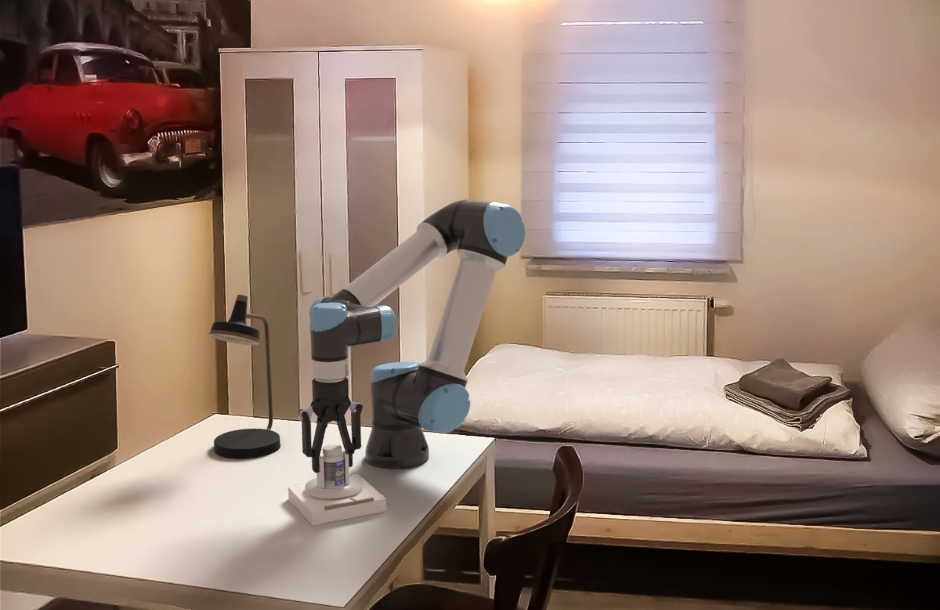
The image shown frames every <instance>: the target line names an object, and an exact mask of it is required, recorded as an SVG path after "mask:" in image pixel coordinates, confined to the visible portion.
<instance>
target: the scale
mask: <svg viewBox="0 0 940 610" xmlns="http://www.w3.org/2000/svg"><path fill="white" fill-rule="evenodd" d="M287 492H288V493H287V494H288V495H287V497H288V501H289V502H291V503H292V505H293V506H294V507H295V508H296V509H297V510H298V511H299V512H300V513H301V515H302V516H303V517H304V518H305V519H306V520H307V521H308V522H309V523H310V524H311V526H317V525H322V524H329V523H334V522H338V521H343V520H344V521H345V520H347V519H353V518H354V519H355V518H358V517H364V516H369V515H373V514H378V513H383V512H387V498H386V497H385V496H384V495H383V494H382V493H380V492H379V490H377V489H376V488H374V486H372V485H371V484H370V483H369V482H367V480H365V479H364V478H363V477H362V476H361V475H359V473H358V474H351V475H349V484H345V483H344V485H343V486H342V487H339V488H333V489H332V488H322V489H321V488H320V487H319V486H318V485H317V477H315V478H312V479H310V480H308V481H307V482H306V483H302V484H301V483H300V484H297V485H296V484H295V485H291V486H290V485H289V486H287ZM328 522H329V523H328Z"/></svg>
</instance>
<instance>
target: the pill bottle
mask: <svg viewBox="0 0 940 610" xmlns="http://www.w3.org/2000/svg"><path fill="white" fill-rule="evenodd" d="M342 448H343V447H342V446H341V445H339V444H328V445H324V446H322V454H323V455H321V457H322V458H324V487H325V488H332V489H333V488H339V487H342V486H343V485H344V457H343V455H342V451H343V449H342Z"/></svg>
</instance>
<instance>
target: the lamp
mask: <svg viewBox="0 0 940 610" xmlns="http://www.w3.org/2000/svg"><path fill="white" fill-rule="evenodd" d="M248 298H249V297H248V296H247V295H244V294H237V296H236V298H235V302H234V305H233V309H232V311H231V314H230V317H229V320H227V321H221V320H220V321H219V320H218V321H214V322H213V323H212V324H211V328H210V330H209V333H208V336H209V337H210V338H213V339H216V340H219V341H223V342H226V343H227V342H228V343H233V344H239V345H244V346H245V345H247V346H259V345H261V341H260V330H259V329H257V328H255V327H253V326H250V325H248V324H247V320H248V319H249V320H252V319H253V320H259V321H262V323H263V327H264V342H265V343H264V345H265V346H264V347H265V364H266V367H265V368H266V385H267V388H266V389H267V406H268V408H267V409H268V422H267V423H268V424H267V427H266V429H265V428H242V429H241V428H239V429H235V430H230V431H227V432H223V433H220V434H219V435H217V436H216V437H215V438H214V439H213V452H214V454H215V455H217V456H220V457H222V458H225V459H233V460H234V459H235V460H246V459H256V458H261V456H262V457H265V455H266V456H269V455H271V454H274V453H275V452H277V451H279V449H280V448H281V445H282V444H281V436H280V434H279V433H278V432H276V431H274V430H271V429H272V428H273V423H274V414H273V413H274V411H273V409H274V408H273V391H272V390H273V388H272V368H271V366H272V365H271V350H270V329H269V324H268V323H269V322H268V321H267V319H266V317H264V316H262V315H259V314H254V313H248V311H247V310H248Z"/></svg>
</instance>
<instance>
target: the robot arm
mask: <svg viewBox="0 0 940 610" xmlns="http://www.w3.org/2000/svg"><path fill="white" fill-rule="evenodd" d="M525 238H526V227H525V222H524V221H523V217H522V215H521V214H520V212H519V211H518V210H517V209H516V207H514V206H512V205H511V204H510V205H509V204H505V203H502V202H498V201H494V202H493V201H492V202H490V201H484V200H483V201H479V200H474V199H461V200H457V201H453V202H451V203H449V204H447V205H445V206H443V207H442V208H440V209H438V210H437V211H435V212H434V213H432V214H430V216H428V217H426V218H425V219H424V220H423V221H421V222H420V223H419V224H418V225H417V226H416V232H414V233H413V234H412V235H410V236H409V237H408V238H407V239H405V240H404V241H402V242H401V243H400V244H398V246H396V247H394V248H393V249H392V250H391V251H390V252H388V253H387V254H386V255H385V256H383V257H381V259H380V260H378V261H377V262H376V263H375V264H373V265H372V266H371V267H369V268H368V269H366V270H365V271H364V272H363V273H361V274H360V275H359V276H358V277H355V279H353V281H351V282H350V283H349V284H347V285H346V286H344V287H343V288H342V289H340V290H339V291H338V292H337V293H335V294H334V295H333V296H322V297H317V298H316V299H315V300H314V301H312V304H311V305H310V308H309V330H310V331H309V332H310V354H311V358H310V359H311V377H312V378H313V379H312V380H311V388H312V389H311V390H312V391H311V393H312V394H311V396H312V400H311V403H310V406H309V407H307V408H304V409H303V408H301V409H299V410H298V415H299V417H300V420H301V444H302V445H301V446H302V447H301V448H302V454H303V455H304V456H305V457H306V458H311V470H312V472H314V474H316V478H317V485H318V486H319V487H320V488H321V489H322V488H325V487H324V458H322V455H321V452H322V450H323V444H324V439H325V434H326V429H327V428H328V424H329V423H331V422H336V425H337V428H338V432H339V436H340V439H341V442H342V445H343V449H344V450H342V455H343V457H344V483H345V484H349V476H350V468H352V467H353V465H354V462H353V461H354V460H353V459H354V454H355V451H357V450H359V449H362V430H361V429H362V428H361V427H362V426H361V425H362V424H361V423H362V422H361V421H362V420H361V415H362V411H363V407H364V405H363V404H362V403H360V402H359V401H351V399H350V397H349V394H350V393H349V388H350V386H349V378H348V376H349V358H348V357H349V355H348V354H349V348H350V347H356V346H361V345H367V344H368V345H369V344H374V343H380V342H383V341H387V340H390V339H392V338H394V336H395V334H396V332H397V329H398V326H397V324H398V323H397V321H398V320H397V317H396V314H395V312H394V310H393V309H392V308H391V307H390V306H388V305H378V304H379V303H381V302H382V301H383V300H384V299H385V298H386V297H388V296H389V295H391V294H392V293H393V292H394V291H395V290H397V289H398V288H399V287H400V286H402V285H403V284H404V283H406V282H407V281H408V280H410V278H412V277H413V276H414V275H415V274H417V273H418V272H419V271H420V270H422V269H423V268H424V267H426V266H427V265H429V263H431V262H432V261H433V260H435V259H436V258H444V257H445V256H446V255H448V254H450V253H451V252H453V251H455V250H456V253H457V256H458V257H459V260H460V262H459V265H458V267H457V270H456V273H455V276H454V280H453V282H452V285H451V288H450V291H449V294H448V297H447V300H446V303H445V306H444V309H443V313H442V316H441V319H440V322H439V325H438V327H437V331H436V334H435V337H434V339H433V343H432V346H431V349H430V351H429V352H430V353H429V355H428V358H427V359H426V360H425V361H422V362H421V363H418V362H416V361H396V362H388V363H384V364H379V365H377V366H375V367H373V369H371V374H370V383H369V384H370V395H371V396H370V398H371V399H370V401H371V425H372V427H371V431H370V434H369V437H368V440H367V444H366V446H365V461H366V462H367V463H368V464H370V465H373V466H376V467H379V468H384V469H385V468H386V469H404V468H411V467H415V466H419V465H422V464H423V463H425V462H427V461H428V460H429V458H430V449H429V445H428V442H427V439H426V435H425V433H424V430H425V431H428V432H432V433H433V432H434V433H438V434H448V433H451V432H453V431H454V430H455V429H457V428H459V427H460V426H461V425H462V424H463V422H465V420H466V418H467V416H468V414H469V411H470V408H471V399H470V394H469V391H468V390H467V389H466V387H467V384H468V377H467V375H466V373H465V368H466V365H467V362H468V360H469V356H470V353H471V350H472V347H473V344H474V341H475V339H476V334H477V332H478V328H479V326H480V323H481V319H482V316H483V313H484V310H485V307H486V304H487V301H488V297H489V296H490V295H489V294H490V292H491V288H492V285H493V282H494V279H495V276H496V274H497V272H498V271H500V270H502V269H504V268H505V267H506V263H507V261H508V258H509V257H512V256H514V255H516V254H517V253H519V251H520V250H522V247H523V245H524V242H525V240H526V239H525ZM348 410H350V422H351V423H350V425H351V426H350V427H351V428H350V429H351V436H350V432H349V430H348V425H347V421H346V416H345V415H346V414H347V412H348ZM313 413H314V415H316V426H315V431H314V435H313V440H312V423H311V421H312V420H311V419H312V416H313Z"/></svg>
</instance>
